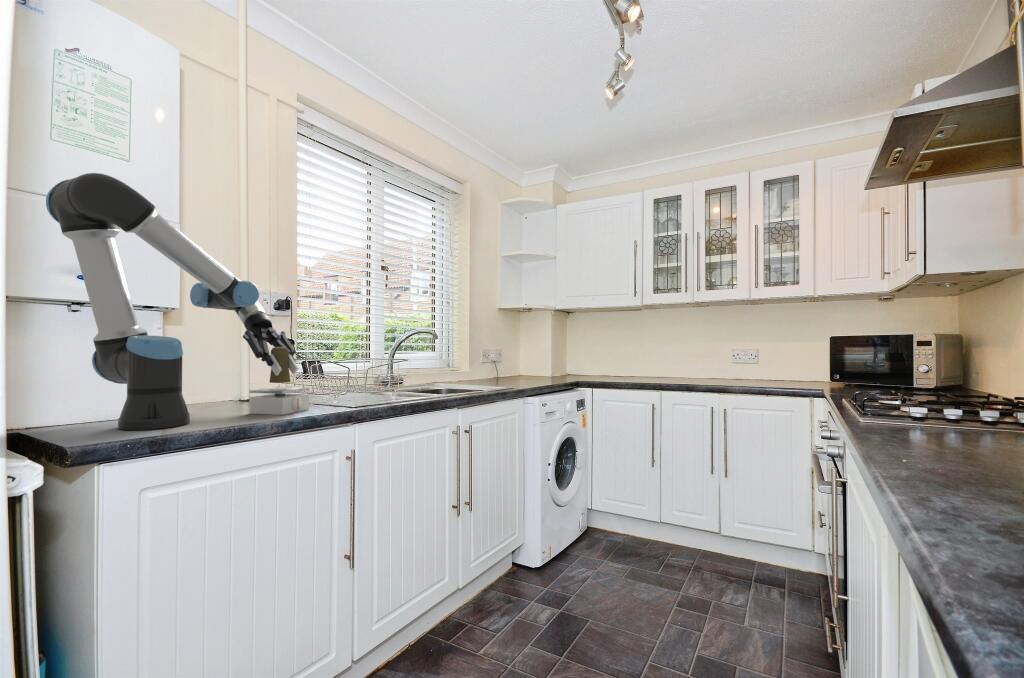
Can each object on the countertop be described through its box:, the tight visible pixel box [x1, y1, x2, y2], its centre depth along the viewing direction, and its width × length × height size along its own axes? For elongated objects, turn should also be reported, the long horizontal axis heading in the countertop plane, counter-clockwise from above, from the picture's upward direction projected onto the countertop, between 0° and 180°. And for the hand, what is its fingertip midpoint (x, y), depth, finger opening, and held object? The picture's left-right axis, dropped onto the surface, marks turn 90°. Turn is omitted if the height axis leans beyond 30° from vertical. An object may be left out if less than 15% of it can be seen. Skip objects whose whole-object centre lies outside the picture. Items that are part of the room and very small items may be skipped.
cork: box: [268, 347, 291, 384], centre depth 153 cm, size 6×6×11 cm
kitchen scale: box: [248, 392, 310, 416], centre depth 152 cm, size 12×13×6 cm
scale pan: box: [248, 386, 310, 395], centre depth 153 cm, size 12×12×1 cm
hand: (287, 371), depth 151 cm, fingers closed on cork, 5 cm apart
